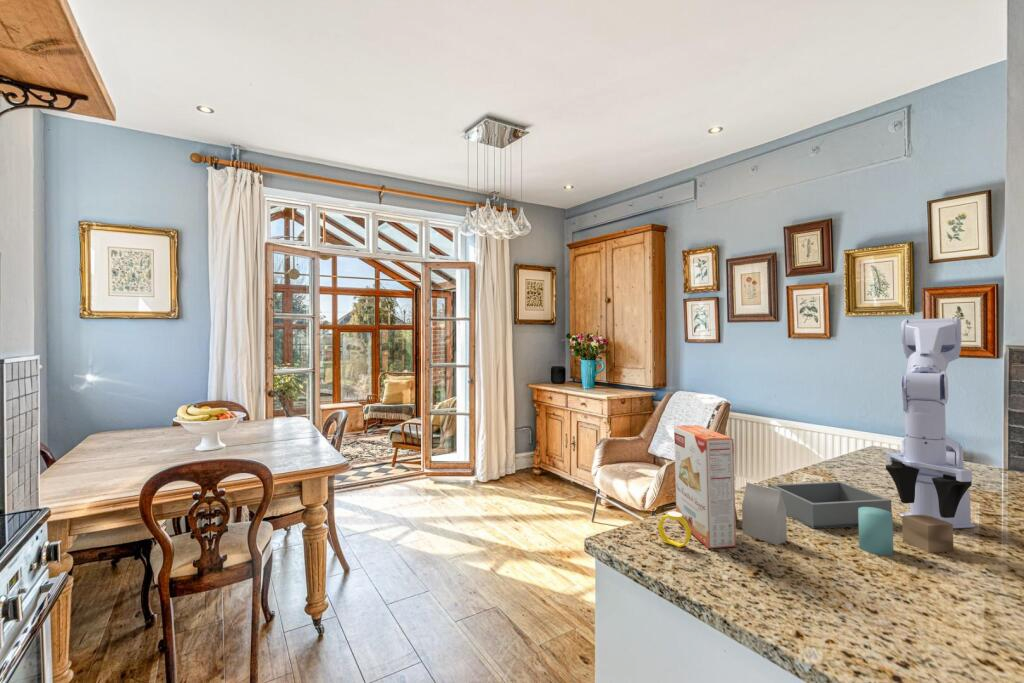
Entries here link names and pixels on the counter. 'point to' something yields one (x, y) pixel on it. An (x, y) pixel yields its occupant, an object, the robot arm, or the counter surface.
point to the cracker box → (706, 484)
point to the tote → (828, 503)
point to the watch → (674, 516)
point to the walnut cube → (928, 533)
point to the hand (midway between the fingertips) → (926, 509)
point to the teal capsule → (875, 530)
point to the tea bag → (764, 514)
